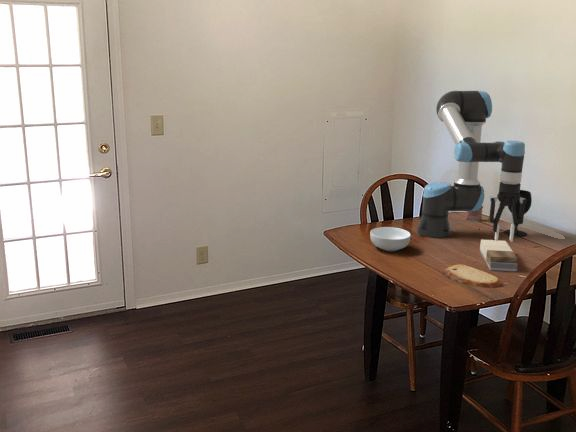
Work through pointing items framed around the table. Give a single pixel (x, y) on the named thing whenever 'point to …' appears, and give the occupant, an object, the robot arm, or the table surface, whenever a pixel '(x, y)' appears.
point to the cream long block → (497, 246)
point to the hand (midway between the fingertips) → (503, 240)
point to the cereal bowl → (390, 238)
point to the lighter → (474, 215)
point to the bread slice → (471, 276)
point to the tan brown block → (501, 257)
